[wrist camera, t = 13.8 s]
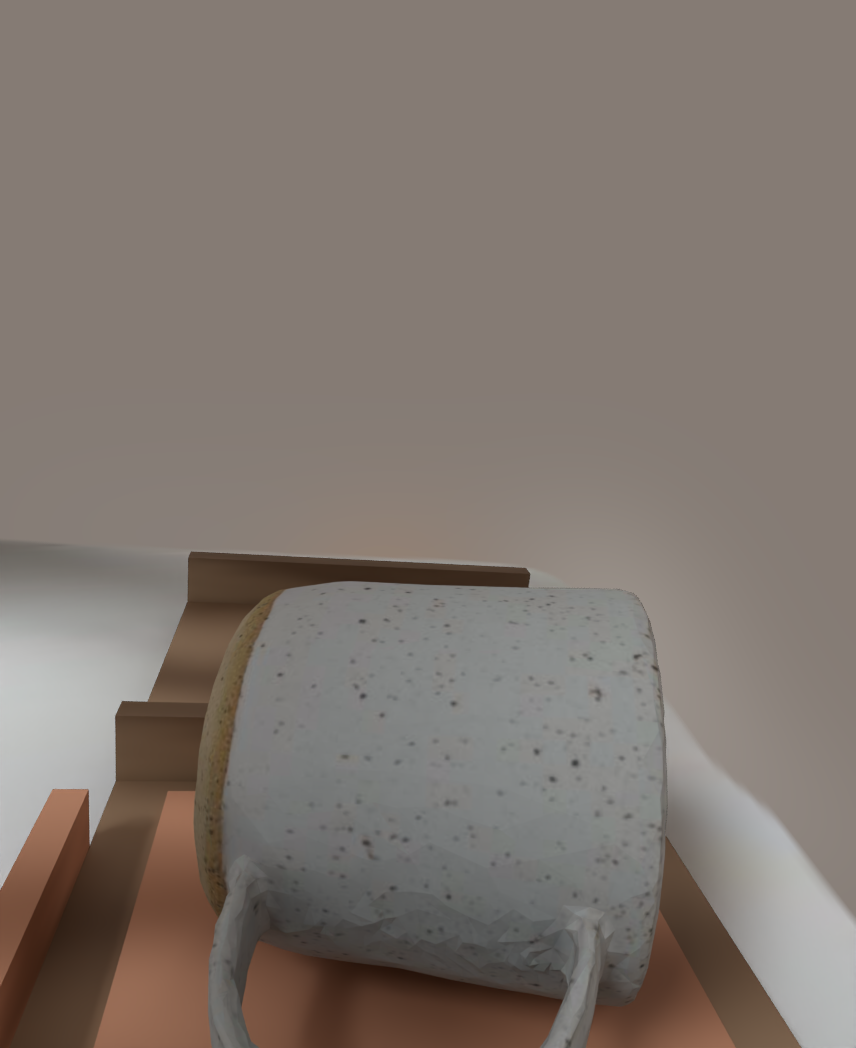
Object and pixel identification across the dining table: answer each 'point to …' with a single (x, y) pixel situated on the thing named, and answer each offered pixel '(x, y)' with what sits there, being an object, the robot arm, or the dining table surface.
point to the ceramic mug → (437, 791)
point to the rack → (274, 974)
